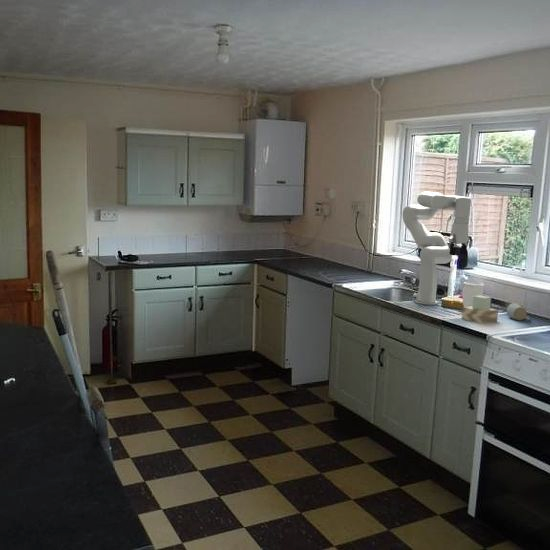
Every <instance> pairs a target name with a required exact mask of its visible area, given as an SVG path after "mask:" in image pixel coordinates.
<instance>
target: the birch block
mask: <svg viewBox="0 0 550 550" xmlns="http://www.w3.org/2000/svg"><path fill="white" fill-rule="evenodd" d="M498 315H499V309H495V308H491V307H490V309H488V310H479V309H474V308H472V306H468V307H464V306H463V307H462V312H461V319H464V320H467V321H471V322H475V323H478V324H488V323H489V324H490V323H496V322H498Z"/></svg>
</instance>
